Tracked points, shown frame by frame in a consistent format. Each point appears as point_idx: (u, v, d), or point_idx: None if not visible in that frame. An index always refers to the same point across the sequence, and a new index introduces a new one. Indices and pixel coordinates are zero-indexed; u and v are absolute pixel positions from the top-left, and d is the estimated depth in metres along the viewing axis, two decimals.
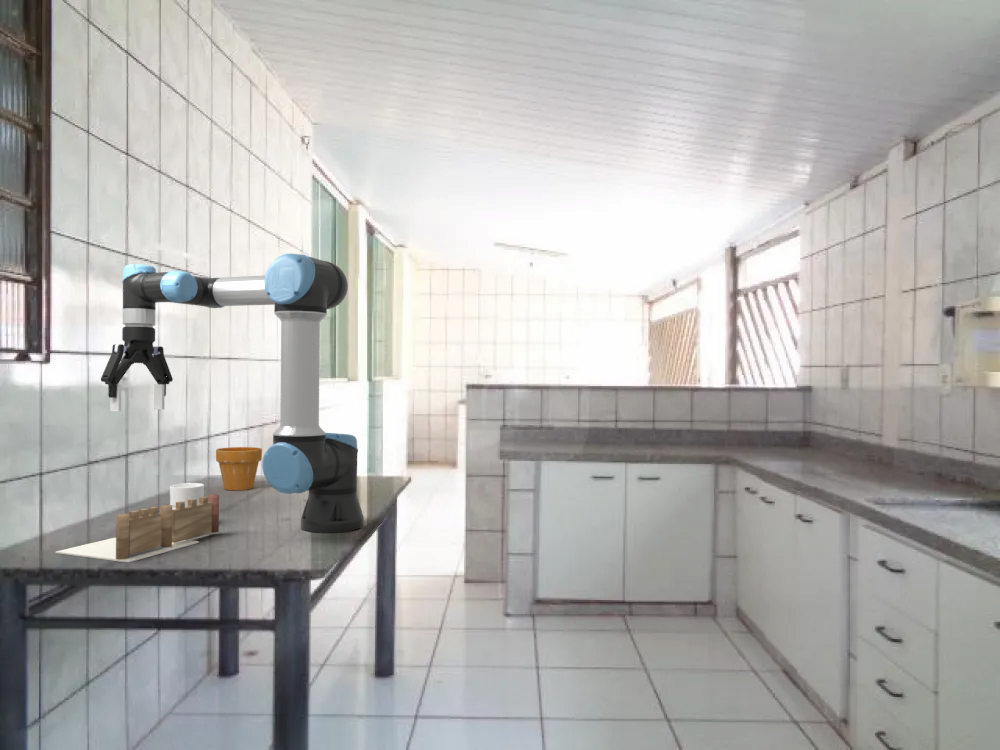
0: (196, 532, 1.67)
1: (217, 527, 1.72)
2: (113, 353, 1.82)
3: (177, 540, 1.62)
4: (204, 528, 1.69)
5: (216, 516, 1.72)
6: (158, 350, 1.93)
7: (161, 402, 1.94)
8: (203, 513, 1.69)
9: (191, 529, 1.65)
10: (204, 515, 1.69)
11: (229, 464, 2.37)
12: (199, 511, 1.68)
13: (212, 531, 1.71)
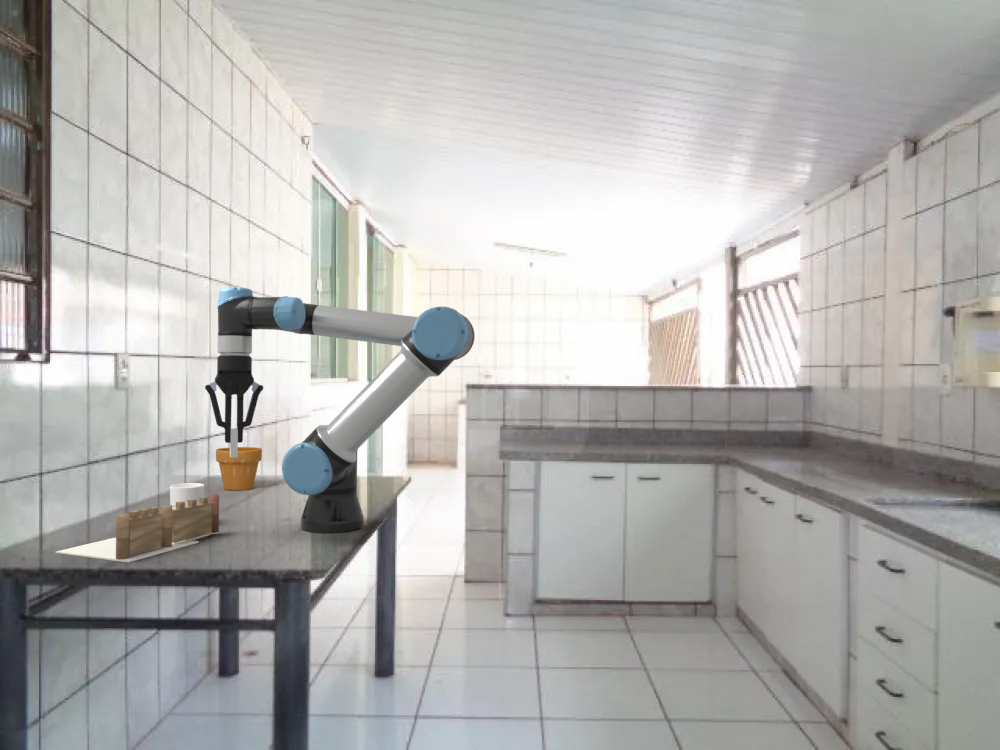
0: (196, 532, 1.67)
1: (217, 527, 1.72)
2: None
3: (177, 540, 1.62)
4: (204, 528, 1.69)
5: (216, 516, 1.72)
6: (257, 387, 1.73)
7: None
8: (203, 513, 1.69)
9: (191, 529, 1.65)
10: (204, 515, 1.69)
11: (229, 464, 2.37)
12: (199, 511, 1.68)
13: (212, 531, 1.71)
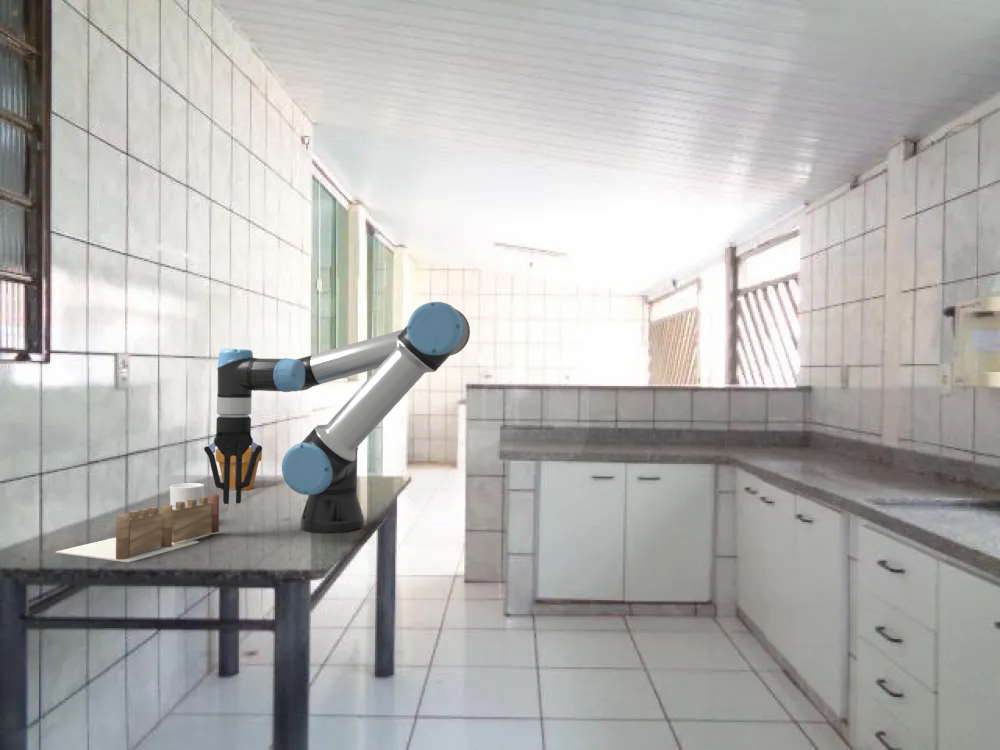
0: (196, 532, 1.67)
1: (217, 527, 1.72)
2: (208, 456, 1.70)
3: (177, 540, 1.62)
4: (204, 528, 1.69)
5: (216, 516, 1.72)
6: (256, 448, 1.73)
7: None
8: (203, 513, 1.69)
9: (191, 529, 1.65)
10: (204, 515, 1.69)
11: None
12: (199, 511, 1.68)
13: (212, 531, 1.71)
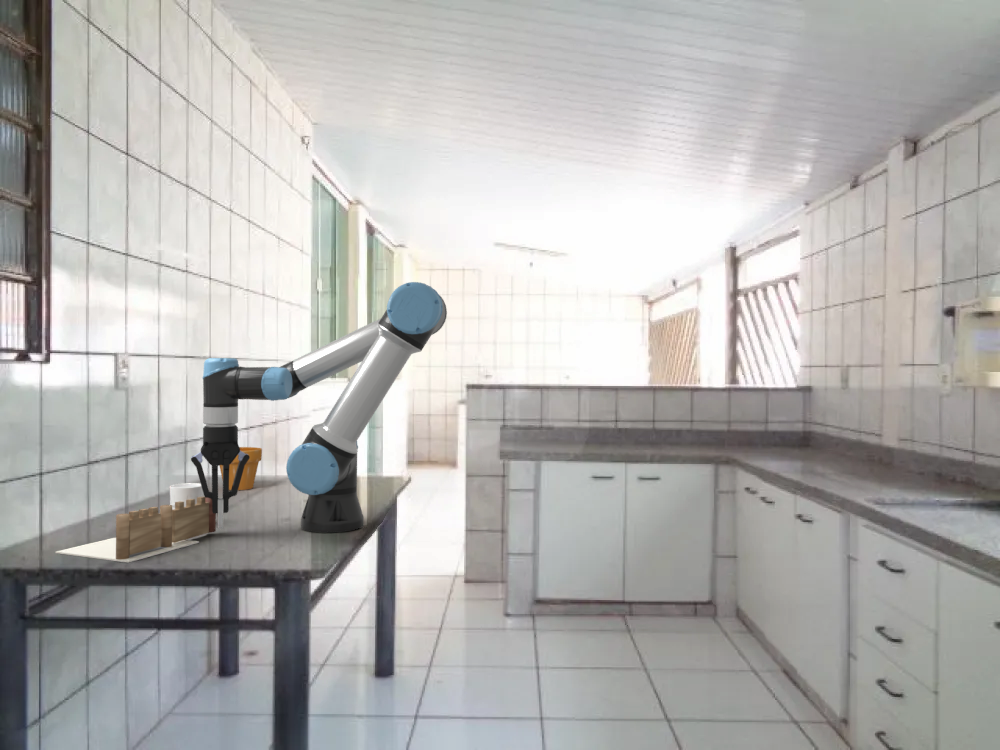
0: (195, 531, 1.67)
1: (214, 527, 1.73)
2: None
3: (177, 540, 1.62)
4: (202, 528, 1.69)
5: (213, 516, 1.72)
6: (243, 457, 1.72)
7: None
8: (201, 513, 1.69)
9: (190, 529, 1.66)
10: (202, 515, 1.69)
11: (229, 464, 2.37)
12: (197, 511, 1.68)
13: (209, 531, 1.72)
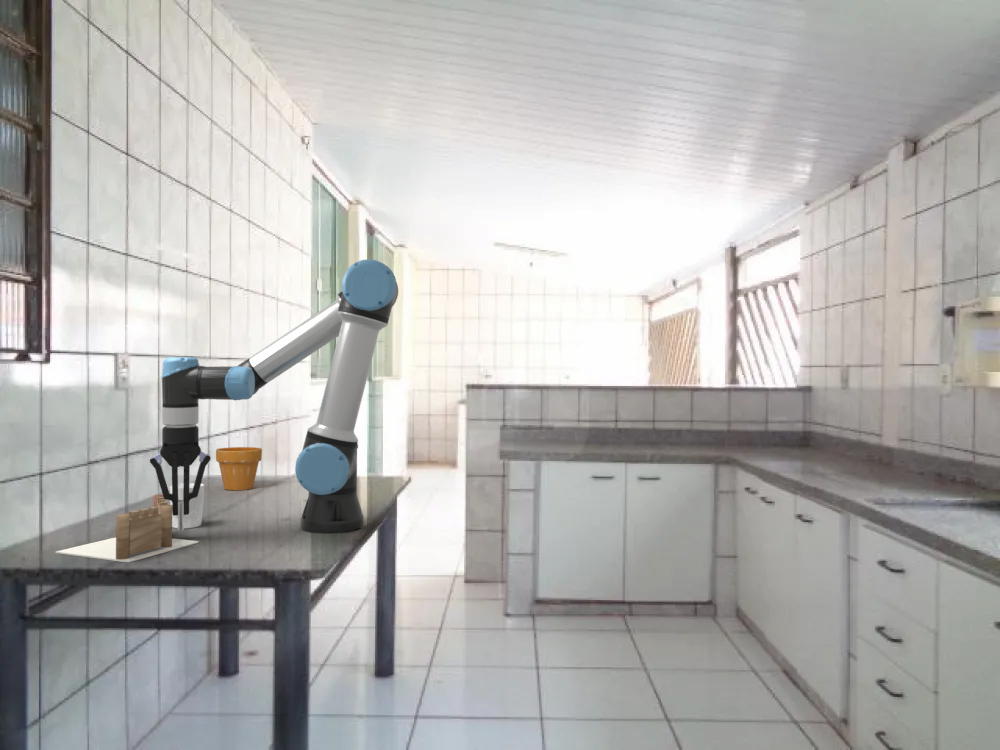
0: None
1: None
2: None
3: None
4: None
5: None
6: (204, 458, 1.69)
7: None
8: None
9: None
10: None
11: (229, 464, 2.37)
12: None
13: None
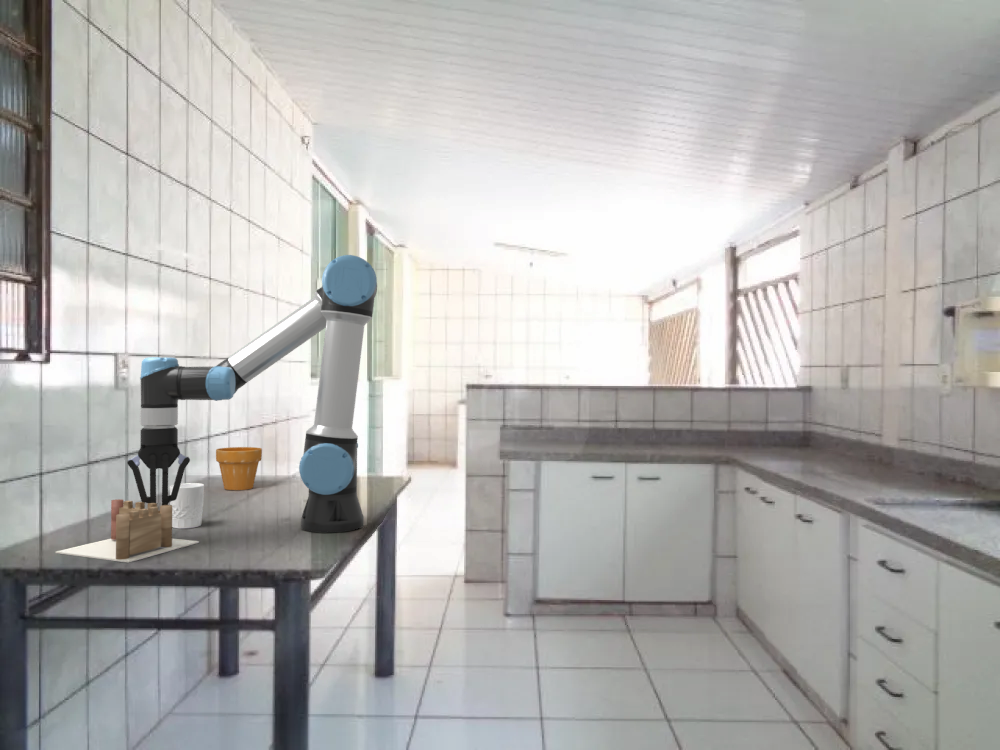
0: None
1: None
2: None
3: None
4: None
5: None
6: (183, 460, 1.66)
7: None
8: None
9: None
10: None
11: (229, 464, 2.37)
12: None
13: None
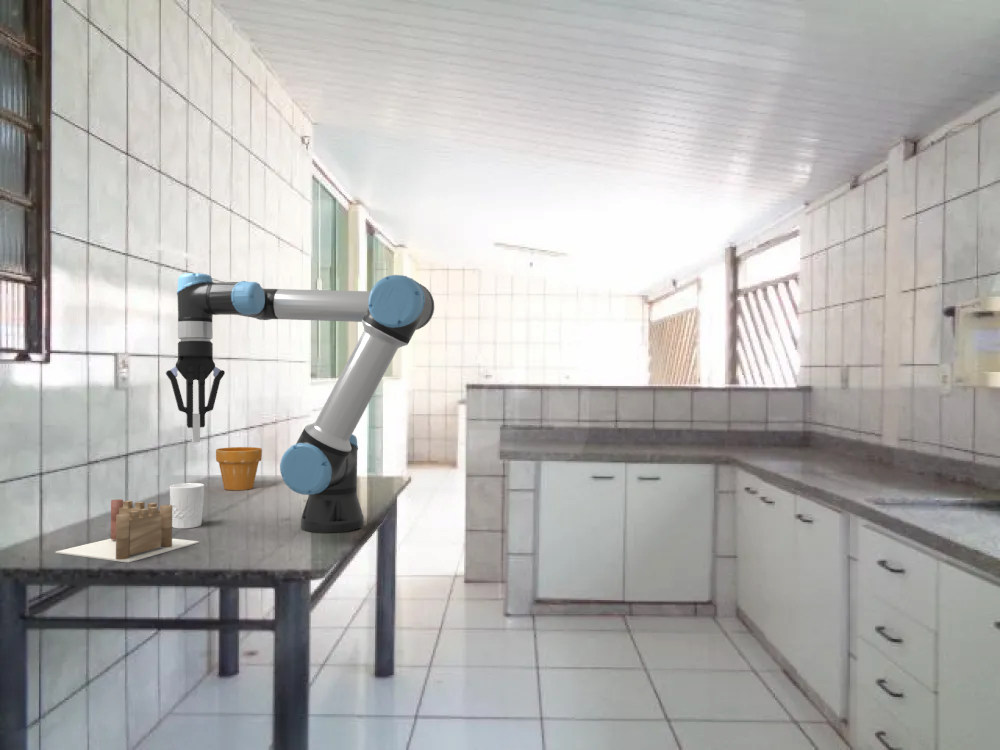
0: None
1: None
2: None
3: None
4: None
5: None
6: (218, 372, 1.75)
7: (196, 434, 1.72)
8: None
9: None
10: None
11: (229, 464, 2.37)
12: None
13: None
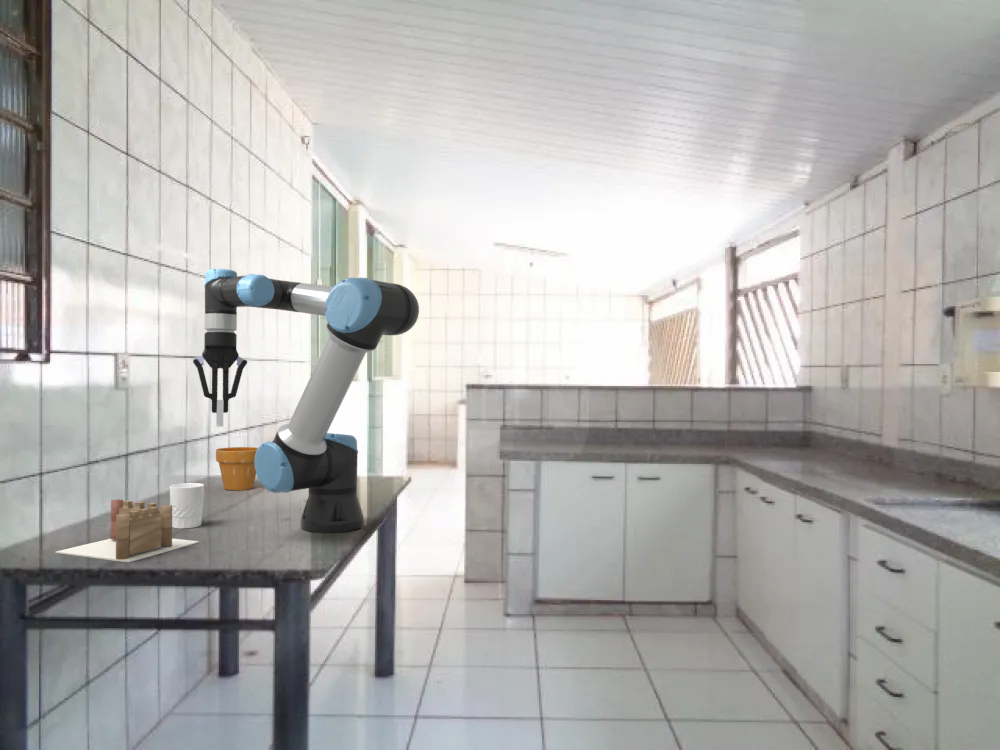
0: None
1: None
2: (197, 368, 1.84)
3: None
4: None
5: None
6: (241, 362, 1.87)
7: None
8: None
9: None
10: None
11: (229, 464, 2.37)
12: None
13: None
